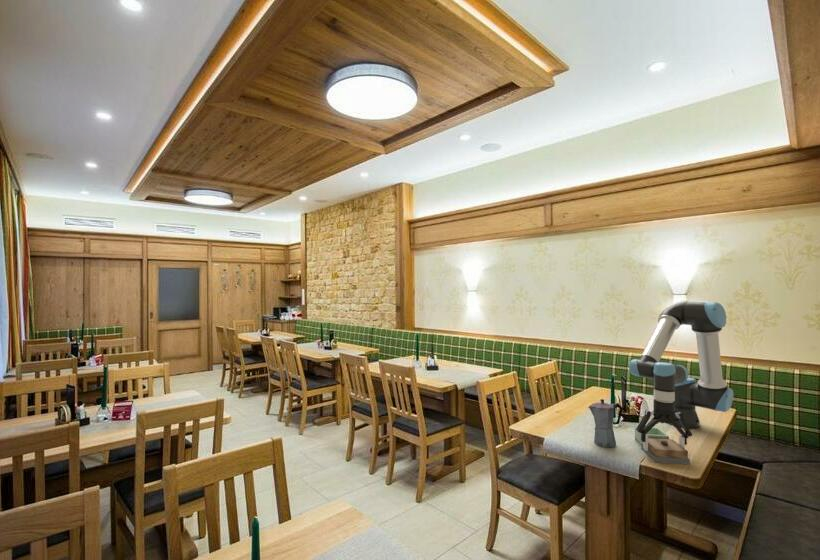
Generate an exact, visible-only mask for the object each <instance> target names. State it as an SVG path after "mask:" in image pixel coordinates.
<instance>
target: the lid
mask: <svg viewBox="0 0 820 560" xmlns="http://www.w3.org/2000/svg"><path fill="white" fill-rule="evenodd" d="M648 450H649V451H650V452H651V453H652V454H653V455H654V456H655V457H668V458H684V459H688V458H689V451H688V450H687V449H686V448H685V449H684V448H683V447H682V446H680V445H679V442H677V441H676V440H674V439H673V438H672V439H671V438H669V439H654V438H648Z"/></svg>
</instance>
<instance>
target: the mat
mask: <svg viewBox="0 0 820 560" xmlns="http://www.w3.org/2000/svg"><path fill="white" fill-rule="evenodd" d="M640 449H641V451H643V452H644V453H645V454H646V455H647V456H648V457H649V458H650V459H651V460H652V461H653V462H654V463H664V464H677V465H679V464H681V465H690V464H691V459H690V458H689V457H688V459H684V458H668V457H655V456H654V455H653V454H652V453H651V452H650V451H649V450H648V451H646V450H645V449H643V444H641V445H640Z"/></svg>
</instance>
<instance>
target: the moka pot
mask: <svg viewBox="0 0 820 560" xmlns="http://www.w3.org/2000/svg"><path fill="white" fill-rule="evenodd" d="M587 408H588V409H589V411H590V413H591V414H592V416H593V420H594V425H595V426H594V437H593V438H594V439H593V440H594V441H593V442H594V444H595V445H596V444H597V445H596V446H598V445H599V446H598V447H602V448H613V447H616V445H617V442H616V437H615V433H614V431H615V430H614V426H613V425H619V424H620V421H621V417H622V414H623V409H624V408H623V407H622V405H620V403H619V402H616V403H607V402H605V399H602V398H601V399H600V402H593V403H591V404H589V406H588V407H587ZM617 408H619V410H618V417H617V420H616V422H614V415H615V413H614V412H615V409H617Z"/></svg>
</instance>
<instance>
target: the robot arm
mask: <svg viewBox="0 0 820 560" xmlns="http://www.w3.org/2000/svg"><path fill="white" fill-rule="evenodd" d="M657 322H658V323H657V325H656V327H655V328H654V331H653V333H651V336H650V338H649V340H648V342H647V344H646V345H645V347H644V349H643V351H642V352H641V355H640V357H639V358H636V359H635V358H634V359H632V360H630V361H629V365H628V369H629V372H630V374H631V375H632V376H636V377H639V378H646V379H649V380H653V398H654V399H653V406H652V407H653V410H648V409H645V411H644V415H643V417H642V418H641V420H640V422H639V424H638V425H637V426H636V427H637V428H636V430H637V431H638V432H639V433H641V441H642V442H643V449H645V450H646V451H648V435H647V433H648V432H649V431H650V430H651V429H652V428H655V426H657V424H659V423H660V424H670V425H672V426H673V427H674V428H675V429H676V430H677V431H678V433H679V434H680V435H679V437H678V438H679V439H678V441H679V442H678V444H679V445H680V446H682V447H683V448H684V449H686V446H687V445H688V439H689V437H692V436H693V433H692V431H691V429H696V428H699V427H700V426H701V425H700V424H701V422H700V418H699V416H698V412H697V409H696V407H699V408H704V409H709V410H711V411H715V412H722V413H726V412H728V411H729V410H730V409H731V407H732V405H733V401H734V391H733V389H732V388H730V387H728V383H727V381H725V380H724V377H723V368H722V367H723V366H722V359H721V357H722V356H721V349H720V340H719V339H720V337H719V333H720V332H722V330H723V328H725V326H726V325H727V314H726V310H725V308H724V306H723V305H722V304H721V303H719V302H717V301H716V302H715V301H709V300H708V301H706V300H705V301H704V300H702V301H701V300H699V301H697V300H693V301H692V300H679V301H676V302H674V303H672V304H670V305H668V306H667V307H666V308H664V310H663V311H662V312H661V313H660V314H659V316H658V318H657ZM682 325H687V326H691V327H690V328H691V331H693V332H694V333H695V336H696V337H695V338H696V346H697V347H696V348H697V354H698V355H697V356H698V364H699V365H698V366H699V375H700V379H698V380H696V378H692V377H690V373H689V370H688V369H687V368H686V367H685V366H684V365H682V364H673V363H671V362H663V361H660V360H661V359H662V356H663V354H664V353H665V350H666V349H667V347H668V346H669V345H668V344H669V342H670V341H671V340H672V337H673V335H674V333H675V332H676V330H678V329H680V327H681V326H682ZM652 416H653V417H652ZM651 417H652V418H651ZM650 419H651V420H650ZM649 420H650V421H649ZM682 428H683V429H682Z"/></svg>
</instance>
